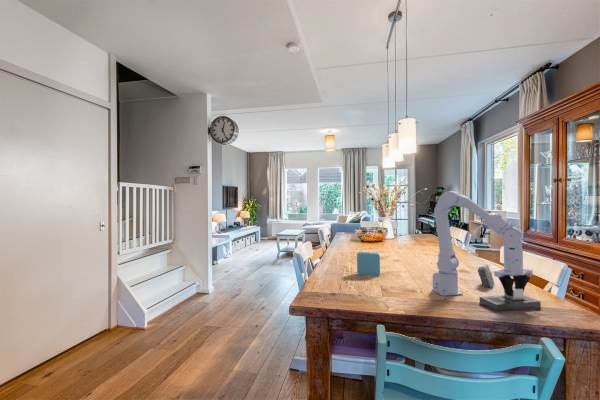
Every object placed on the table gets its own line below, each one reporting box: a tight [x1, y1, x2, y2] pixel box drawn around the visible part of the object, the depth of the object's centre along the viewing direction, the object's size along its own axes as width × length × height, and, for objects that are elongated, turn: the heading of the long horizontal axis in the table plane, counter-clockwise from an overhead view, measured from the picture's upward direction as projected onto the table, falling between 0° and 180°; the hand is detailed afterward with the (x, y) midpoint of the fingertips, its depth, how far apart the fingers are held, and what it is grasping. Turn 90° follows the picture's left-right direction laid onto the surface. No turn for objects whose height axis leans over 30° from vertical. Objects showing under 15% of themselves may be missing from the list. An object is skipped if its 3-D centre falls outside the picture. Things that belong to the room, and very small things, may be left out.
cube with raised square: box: [503, 285, 524, 302], centre depth 105 cm, size 4×4×5 cm
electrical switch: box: [477, 263, 495, 289], centre depth 131 cm, size 9×5×9 cm, turn 141°
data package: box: [356, 251, 381, 277], centre depth 152 cm, size 12×4×12 cm, turn 77°
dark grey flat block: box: [479, 294, 542, 312], centre depth 105 cm, size 18×8×3 cm, turn 98°
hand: (513, 294), depth 105 cm, fingers closed on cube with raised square, 4 cm apart
